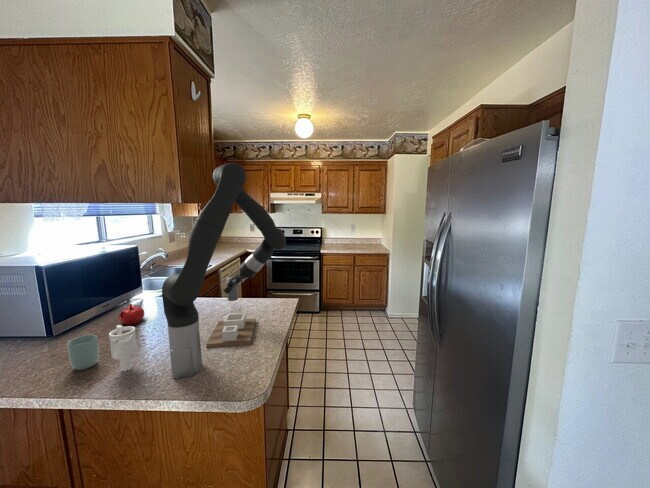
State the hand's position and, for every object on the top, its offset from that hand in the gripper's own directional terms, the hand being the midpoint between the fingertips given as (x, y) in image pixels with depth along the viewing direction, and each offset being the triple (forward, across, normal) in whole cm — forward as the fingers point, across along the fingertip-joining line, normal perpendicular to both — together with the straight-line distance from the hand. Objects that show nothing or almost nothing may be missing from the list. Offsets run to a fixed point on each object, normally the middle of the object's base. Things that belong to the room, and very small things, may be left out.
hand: (228, 290), depth 120 cm
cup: (+38, +35, -12) cm, 53 cm away
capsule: (+1, 0, +4) cm, 5 cm away
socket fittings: (+9, +5, +14) cm, 18 cm away
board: (+10, +5, +16) cm, 19 cm away
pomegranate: (+49, 0, -23) cm, 54 cm away
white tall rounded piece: (+27, +35, -1) cm, 44 cm away
